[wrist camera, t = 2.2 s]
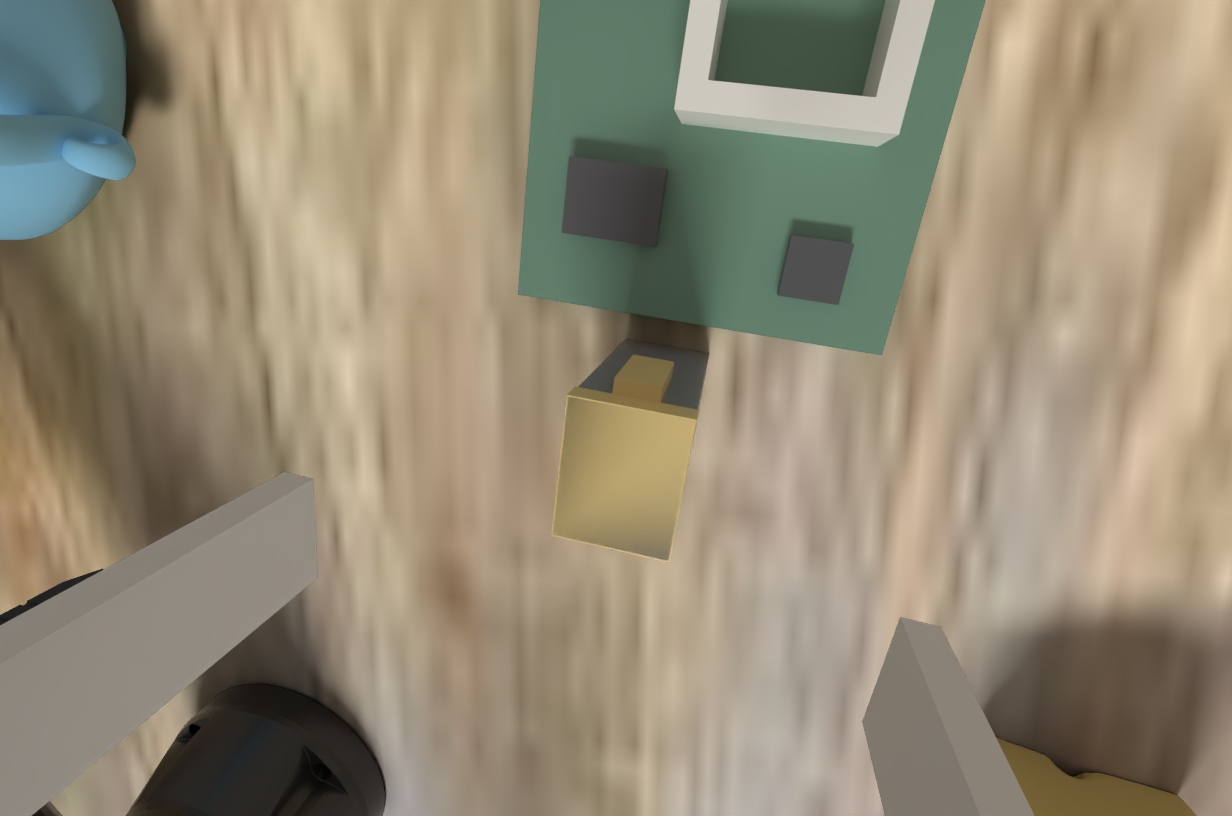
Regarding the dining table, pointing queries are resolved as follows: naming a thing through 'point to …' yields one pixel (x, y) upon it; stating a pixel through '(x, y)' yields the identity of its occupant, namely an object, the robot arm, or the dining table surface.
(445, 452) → the dining table surface
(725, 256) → the header board
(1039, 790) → the cheese
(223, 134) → the dining table surface
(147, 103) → the dining table surface
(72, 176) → the decorative pot
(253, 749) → the robot arm
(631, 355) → the plug
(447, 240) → the dining table surface
